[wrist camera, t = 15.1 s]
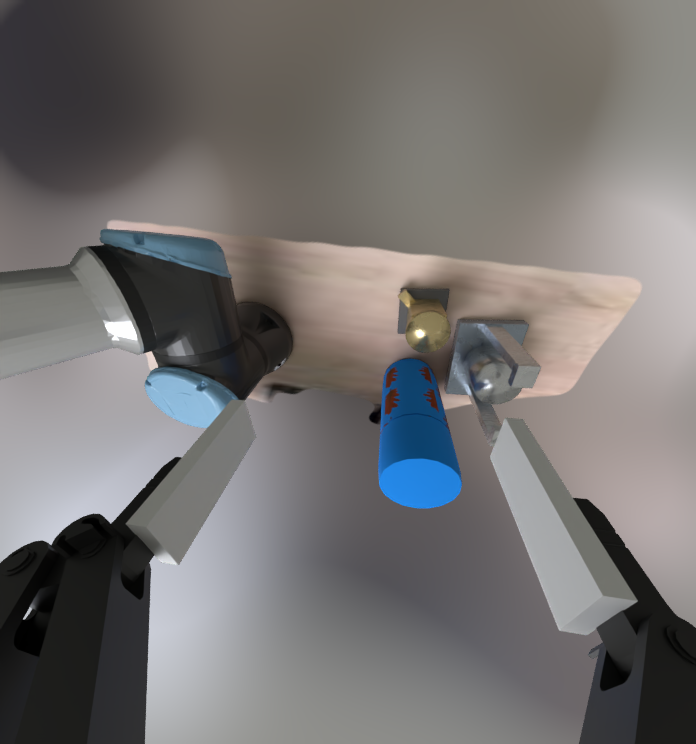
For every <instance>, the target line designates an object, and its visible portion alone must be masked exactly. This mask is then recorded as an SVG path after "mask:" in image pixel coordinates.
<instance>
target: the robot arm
mask: <svg viewBox="0 0 696 744" xmlns="http://www.w3.org/2000/svg"><path fill="white" fill-rule="evenodd" d="M100 234H101V237H100V241H101V242H102V243H104V245H102V246H88V247H81V248H80V249H79V250H78V252H77V253H76V255H75V256H74V258H73V259H72V261H71V262H70V264H68V265H65V266H58V267H48V268H38V269H27V270H17V271H7V272H0V380H1V379H4V378H8V377H11V376H15V375H19V374H22V373H26V372H29V371H33V370H36V369H40V368H43V367H47V366H51V365H54V364H57V363H61V362H64V361H68V360H72V359H75V358H79V357H83V356H86V355H90V354H93V353H97V352H100V351H104V350H107V349H111V348H119V349H122V350H125V351H128V352H131V353H134V354H137V355H140V354H143V353H146V352H150V351H152V353H153V355H154V357H155V359H156V362H157V364H158V368H155V369H154V370H152V371H151V372H150V374H149V376H148V377H147V380H146V381H145V389H146V392H147V395H148V396H149V398H150V399H151V401H152V402H153V403H154V404H155V405H156V406H157V407H158V408H159V409H160V410H161V411H163V412H164V413H165V414H167V415H168V416H170V417H172V418H174V419H176V420H177V421H179V422H182V423H184V424H187V425H190V426H194V427H200V428H207V429H206V430H205V431H204V433H203V434H202V435H201V436H200V437H199V438H198V440H197V441H196V442H195V443H194V444H193V446H192V447H191V448H190V449H189V450H188V451H187V453H186V454H185V455H184V456H183V457H182V458H181V457H175V458H174V459H173V460H171V461H170V462H168V463H167V464H166V465H164V466H163V467H162V468H161V469H160V471H159V472H158V473H157V474H156V475H155V476H154V478H153V479H151V480H150V482H149V483H148V484H147V485H146V487H145V488H143V489H142V490H141V492H140V493H139V494H138V495H137V496H136V497H135V498H134V499H133V500H132V502H131V503H130V504H129V505H128V506H127V507H126V508H125V509H124V510H123V512H122V513H121V514H120V515H119V516H118V517H117V518H116V520H114V521H113V522H112V523H111V524H110V523H109V522H108V521H107V520H106V519H105V518H104V517H103V516H102V515H100V514H91V515H87V516H84V517H82V518H80V519H78V520H76V521H74V522H73V523H71V524H70V525H69V526H67V527H66V528H65V529H64V530H62V532H61V533H60V534H59V535H58V536H57V537H56V538H55V540H54V541H53V543H52V545H50V544H49V543H47V542H45V541H35V542H32V543H30V544H27V545H25V546H23V547H21V548H20V549H18V550H16V551H15V552H13V553H12V554H10V555H9V556H8V557H7V558H6V559H4V560H3V561H2V562H1V563H0V744H145V720H146V691H147V663H148V635H149V634H148V633H149V607H150V578H151V568H150V564H149V562H150V560H151V559H152V558H153V556H154V555H155V556H156V557H157V559H158V560H159V561H160V562H163V563H169V564H174V565H179V564H180V562H181V561H182V559H183V557H184V556H185V554H186V552H187V551H188V549H189V547H190V546H191V544H192V542H193V541H194V539H195V537H196V535H197V534H198V532H199V530H200V529H201V527H202V526H203V524H204V522H205V521H206V519H207V517H208V516H209V514H210V512H211V511H212V509H213V508H214V506H215V504H216V502H217V501H218V499H219V498H220V496H221V494H222V493H223V491H224V489H225V488H226V486H227V484H228V483H229V481H230V479H231V478H232V476H233V474H234V472H235V471H236V469H237V468H238V466H239V464H240V463H241V461H242V459H243V458H244V456H245V455H246V453H247V451H248V449H249V448H250V446H251V445H252V442H253V441H254V440H255V438H256V434H255V431H254V428H253V425H252V422H251V419H250V415H249V412H248V409H247V406H246V403H245V400H246V398H247V397H248V396H249V394H250V393H251V392H252V390H253V389H254V388H255V387H256V385H257V384H258V383H259V381H260V380H261V379H262V377H263V376H265V375H267V374H269V373H271V372H273V371H275V370H277V369H279V368H280V367H281V366H282V365H283V364H284V363H285V362H286V360H287V359H288V357H289V356H290V354H291V351H292V336H291V333H290V330H289V328H288V326H287V324H286V323H285V321H284V320H283V319H282V318H281V317H280V316H279V315H278V314H277V313H276V312H275V311H273V310H272V309H270V308H269V307H267V306H265V305H262V304H259V303H254V302H244V303H240V304H237V305H236V301H235V296H234V292H233V287H232V282H231V278H232V276H231V274H230V273H229V271H228V267H227V263H226V260H225V256H224V252H223V250H222V248H221V247H220V246H219V245H218V244H217V243H216V242H214V241H213V240H210V239H206V238H200V237H192V236H183V235H173V234H163V233H153V232H141V231H130V230H113V229H103V230H101V232H100ZM490 458H491V461H492V464H493V466H494V469H495V471H496V474H497V476H498V479H499V481H500V483H501V486H502V489H503V491H504V493H505V496H506V498H507V501H508V503H509V506H510V509H511V511H512V514H513V516H514V519H515V521H516V524H517V526H518V529H519V531H520V534H521V536H522V539H523V541H524V544H525V546H526V549H527V551H528V554H529V556H530V559H531V561H532V563H533V566H534V569H535V571H536V573H537V576H538V579H539V581H540V584H541V586H542V589H543V591H544V594H545V596H546V598H547V601H548V604H549V606H550V609H551V611H552V614H553V616H554V619H555V621H556V624H557V626H558V629H559V630H560V631H565V632H571V633H577V634H583V635H588V634H589V633H591V632H592V631H594V630H595V629H597V631H598V633H599V635H600V637H601V639H602V641H603V643H601V644H600V645H598V646H596V647H595V648H593V649H591V651H590V652H589V654H588V656H589V657H590V658H592V659H594V658H595V657H597V656H598V659H597V663H596V668H595V673H594V677H593V682H592V687H591V691H590V696H589V700H588V705H587V710H586V714H585V719H584V723H583V728H582V733H581V737H580V742H579V744H696V628H695V627H694V626H693V625H691V624H690V623H689V622H687V621H685V620H683V619H681V618H679V617H678V616H676V614H675V613H674V612H673V611H672V610H671V609H670V607H669V606H668V605H667V604H666V602H665V601H664V599H663V598H662V597H661V595H660V594H659V592H658V591H657V590H656V588H655V587H654V585H653V584H652V582H651V581H650V579H649V578H648V577H647V575H646V574H645V572H644V571H643V569H642V568H641V567H640V565H639V564H638V562H637V561H636V560H635V558H634V557H633V555H632V554H631V552H630V551H629V549H628V548H626V547H625V544H624V542H623V541H622V539H621V538H620V537H619V535H618V534H616V533H615V529H614V528H613V527H612V525H611V524H610V522H609V521H608V519H607V518H606V517H605V515H604V514H603V513H602V512H601V511H600V510H599V509H598V508H596V507H595V506H594V505H593V504H592V503H591V502H590V501H589V500H587V499H579V498H572V496H571V494H570V493H569V491H568V490H567V488H566V487H565V485H564V483H563V482H562V480H561V479H560V477H559V476H558V474H557V472H556V471H555V469H554V468H553V466H552V464H551V463H550V461H549V460H548V458H547V456H546V455H545V453H544V452H543V450H542V449H541V447H540V445H539V444H538V442H537V441H536V439H535V437H534V436H533V434H532V433H531V431H530V430H529V428H528V426H527V425H526V423H525V422H524V420H523V419H516V418H505V419H504V422H503V425H502V427H501V430H500V432H499V435H498V438H497V440H496V443H495V446H494V448H493V451H492V453H491V456H490ZM29 607H31V608H33V609H32V611H31V612H30V614H29V615H28V616H27V618H26V619H25V620H23V618H24V616H25V614H26V612H27V611H28V609H29Z"/></svg>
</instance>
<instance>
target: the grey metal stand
mask: <svg viewBox="0 0 696 744" xmlns="http://www.w3.org/2000/svg"><path fill="white" fill-rule="evenodd" d="M528 326H529V324H528V323H527V322H525V321H524V320H469V319H458V321H457V326H456V331H455V336H454V341H453V346H452V351H451V356H450V361H449V366H448V371H447V376H446V381H445V387H444V389H445V392H446V394H461V395H469V398H470V400H471V403H472V405H473V407H474V410H475V412H476V414H477V417H478V419H479V422H480V424H481V427H482V429H483V431H484V433H485V436H486V439H487V441H488V443H489V446H495V443H496V440H497V438H498V435H499V432H500V430H501V427H502V424H501V423H500V421H499V419H498V417H497V415H496V413H495V411H494V409H493V407H492V405H491V404H502V403H505V402H508V401H510V400H512V399H513V398H515V397H516V396H517V395H518V394H519V393H520V391H521V389H522V388H533V385H534V383H535V381H536V378H537V376H538V374H539V371H540V369H541V366H540V365H539V364H538V363H537V362H536V361H535V360H534V359H533V358H532V357H531V356H530V355H529V354H528V353H527V351H526V350H525V349H524V348H523V347H522V343H523V340H524V338H525V335H526V332H527V329H528Z"/></svg>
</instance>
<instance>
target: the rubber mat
mask: <svg viewBox="0 0 696 744" xmlns="http://www.w3.org/2000/svg"><path fill="white" fill-rule="evenodd" d="M403 290H404V289H401V292H402V291H403ZM406 290H407V291H408V292H409V293H410V294H411V295H412V296H413V297H414V299H439V301H440V303H441V305H442V307H443V308H444V310H445V312H446V308H447V302H448V296H449V289H406ZM401 292H400V293H401ZM407 314H408V307H407V306H406V305H405V304H404V303H403V302H402V301H401V300H400V307H399V321H398V334H406V325H407Z"/></svg>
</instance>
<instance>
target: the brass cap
mask: <svg viewBox="0 0 696 744" xmlns="http://www.w3.org/2000/svg"><path fill="white" fill-rule="evenodd" d="M398 298H399V299H400V300H401V301H402V302H403V303H404V304H405V305H406V306H407V307H408V314H407V325H406V339H407V342H408V344H409V345H410V346H411V347H412V348H413V349H415V350H417V351H419V352H433V351H436V350H438V349H440V348H441V347H443V346H444V345H445V344H446V342H447V341H448V339H449V337H450V333H451V328H450V324H449V322H448V320H447V314H446V312H445V310H444V308H443V307H442V305H441V303H440V301H439V299H414V297H413V296H412V295H411V294H410V293H409V292H408V291H407V290H406V289H404V290H403V291H402V292H401V293H400V294H399V295H398Z"/></svg>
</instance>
